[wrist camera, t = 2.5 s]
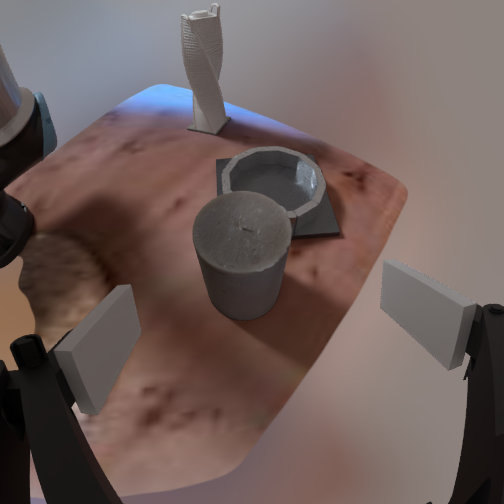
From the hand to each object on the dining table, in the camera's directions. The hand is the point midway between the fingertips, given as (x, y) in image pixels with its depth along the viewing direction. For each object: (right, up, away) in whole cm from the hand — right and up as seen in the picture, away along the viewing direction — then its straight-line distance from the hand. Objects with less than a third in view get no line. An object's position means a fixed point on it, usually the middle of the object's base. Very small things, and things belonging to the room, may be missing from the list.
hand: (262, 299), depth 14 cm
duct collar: (+3, +12, +34) cm, 36 cm away
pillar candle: (-1, -3, +25) cm, 26 cm away
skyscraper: (-9, +29, +45) cm, 54 cm away
